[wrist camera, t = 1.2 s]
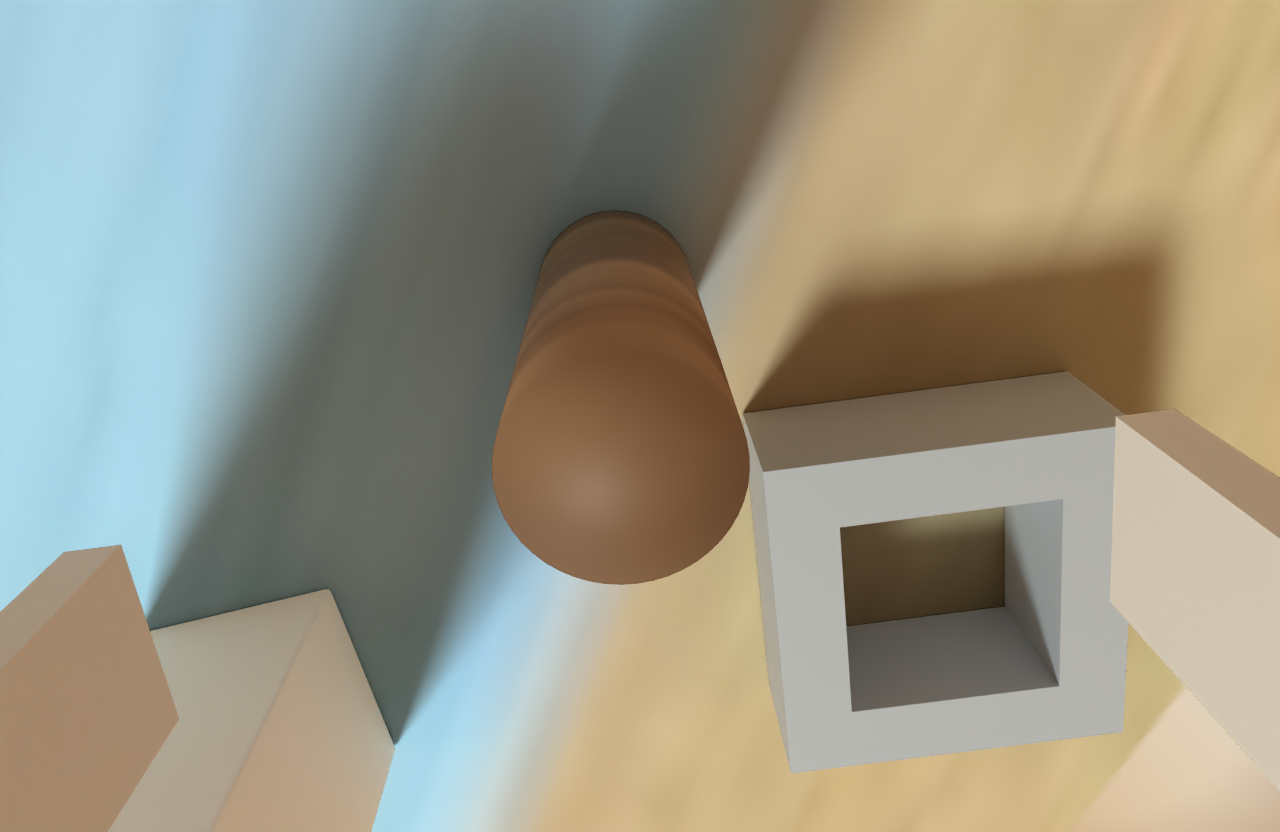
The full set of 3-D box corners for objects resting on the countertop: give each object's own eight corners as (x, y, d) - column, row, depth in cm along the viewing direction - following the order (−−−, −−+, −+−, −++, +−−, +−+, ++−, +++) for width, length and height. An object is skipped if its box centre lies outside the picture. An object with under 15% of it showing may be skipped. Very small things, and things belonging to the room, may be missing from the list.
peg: (527, 221, 27) (469, 366, 15) (682, 201, 27) (737, 331, 15) (551, 368, 28) (515, 599, 17) (698, 349, 28) (760, 568, 17)
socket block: (742, 413, 29) (762, 472, 25) (1068, 371, 29) (1137, 423, 25) (769, 685, 32) (790, 773, 28) (1062, 648, 32) (1123, 732, 28)
